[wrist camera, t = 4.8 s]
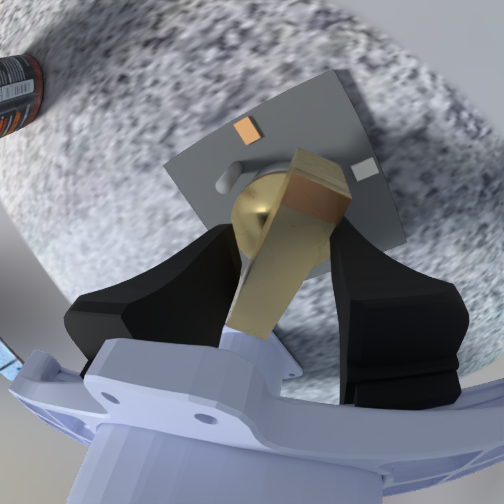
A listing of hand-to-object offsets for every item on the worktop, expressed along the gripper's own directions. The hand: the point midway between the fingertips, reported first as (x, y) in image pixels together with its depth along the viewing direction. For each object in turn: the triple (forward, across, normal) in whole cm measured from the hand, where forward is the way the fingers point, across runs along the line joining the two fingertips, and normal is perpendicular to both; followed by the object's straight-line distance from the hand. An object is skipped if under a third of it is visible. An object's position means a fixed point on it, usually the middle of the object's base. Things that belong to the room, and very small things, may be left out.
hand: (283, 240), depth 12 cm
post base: (+4, 0, 0) cm, 5 cm away
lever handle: (+1, 0, 0) cm, 1 cm away
